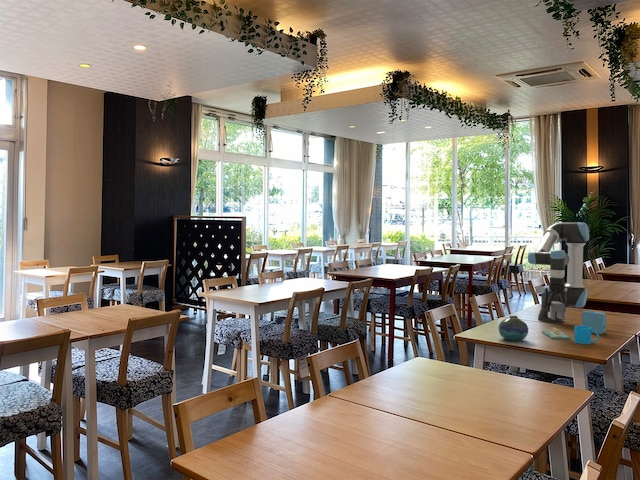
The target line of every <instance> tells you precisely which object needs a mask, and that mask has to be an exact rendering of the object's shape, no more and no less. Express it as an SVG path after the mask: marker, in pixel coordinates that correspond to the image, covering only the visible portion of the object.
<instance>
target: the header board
mask: <svg viewBox="0 0 640 480" xmlns="http://www.w3.org/2000/svg"><path fill="white" fill-rule="evenodd" d="M541 334H543V335H545V336H546V337H548V338H549V339H550V340H571V337H570V336H568V335H567V334H565V333H563V332H562V331H561V330H560V329H558V328H557V327H552V330H541Z"/></svg>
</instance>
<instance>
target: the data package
mask: <svg viewBox="0 0 640 480" xmlns="http://www.w3.org/2000/svg"><path fill="white" fill-rule="evenodd" d="M580 326H588V327H591V329H592V330H594V331H596V332H597V333H598V334H599V335H602V334H605V333H606V332H607V314H606V313H605V312H599V311H593V310H585V311H582V313H581V324H580ZM591 334H596V333H595V332H593V331H591Z"/></svg>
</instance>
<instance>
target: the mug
mask: <svg viewBox="0 0 640 480" xmlns="http://www.w3.org/2000/svg"><path fill="white" fill-rule="evenodd" d="M591 331H593V332H595V333H594V334H595V335H596V339H594V340H592V333H591ZM573 334H574V335H573V342H575V343H577V344H582V345H590V344H592V343H596V342H598V341H599V339H600V334H598V333H597V332H596V331H594V330H592V329H591V327H588V326H581V325H574V333H573Z"/></svg>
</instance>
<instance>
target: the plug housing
mask: <svg viewBox="0 0 640 480" xmlns="http://www.w3.org/2000/svg"><path fill="white" fill-rule="evenodd" d="M550 306H551V307H552V311H551V319H553V320H555V312H557V317H558V318H560V319H562V320H563V321H565V318H566V317H565V314H566V312H565V304H563V303H561V302H551V305H550Z"/></svg>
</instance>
